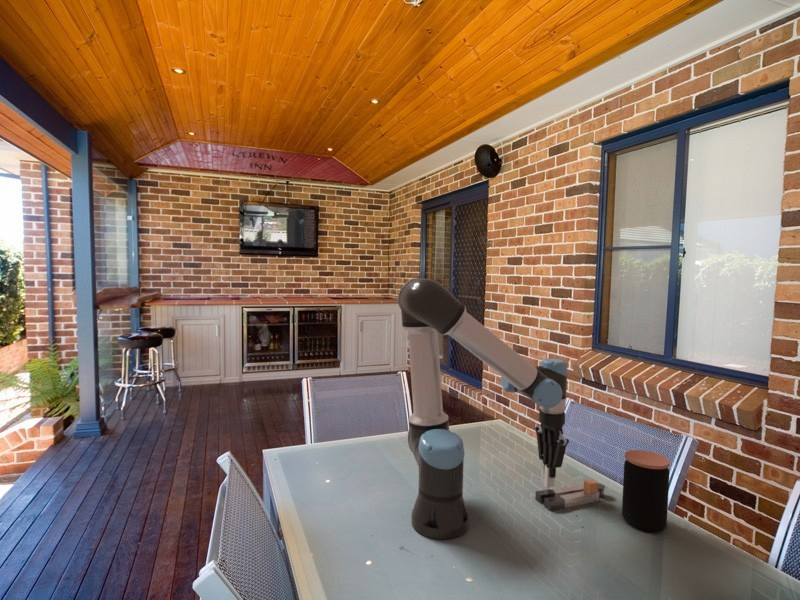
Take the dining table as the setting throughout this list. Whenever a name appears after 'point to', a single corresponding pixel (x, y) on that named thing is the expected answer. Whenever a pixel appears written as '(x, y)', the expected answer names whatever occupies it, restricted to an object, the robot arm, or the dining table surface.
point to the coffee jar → (645, 490)
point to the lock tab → (590, 486)
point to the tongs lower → (573, 499)
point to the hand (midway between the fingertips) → (549, 486)
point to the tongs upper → (557, 492)
